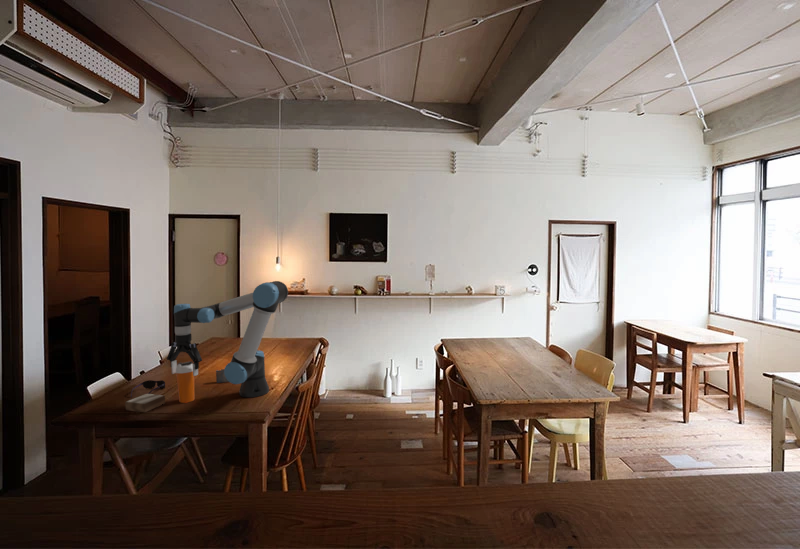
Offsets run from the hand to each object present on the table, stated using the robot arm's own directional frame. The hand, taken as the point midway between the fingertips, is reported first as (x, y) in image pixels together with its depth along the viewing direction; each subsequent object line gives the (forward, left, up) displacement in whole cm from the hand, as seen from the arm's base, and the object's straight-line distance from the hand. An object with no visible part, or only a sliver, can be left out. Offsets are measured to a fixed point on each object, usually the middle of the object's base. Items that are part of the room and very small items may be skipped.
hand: (184, 374), depth 216 cm
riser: (+14, +12, -14) cm, 23 cm away
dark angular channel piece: (+1, -32, -15) cm, 35 cm away
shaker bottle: (0, 0, -14) cm, 14 cm away
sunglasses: (+32, -6, -14) cm, 35 cm away
